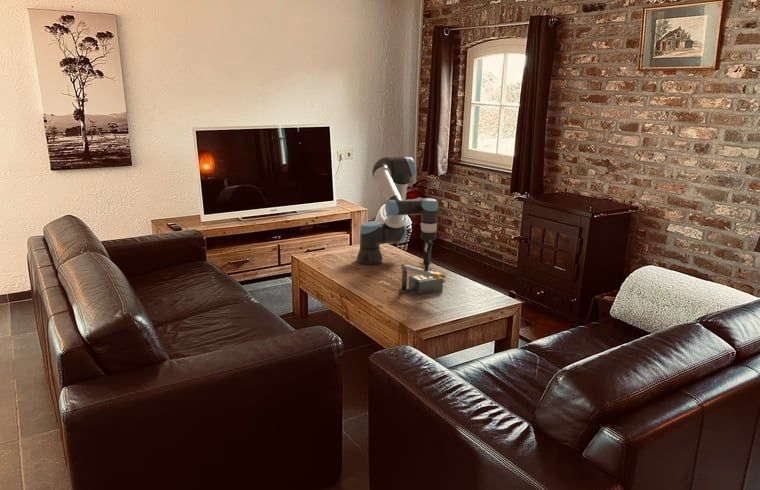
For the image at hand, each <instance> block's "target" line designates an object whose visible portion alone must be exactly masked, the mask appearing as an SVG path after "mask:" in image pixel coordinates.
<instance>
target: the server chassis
mask: <svg viewBox="0 0 760 490" xmlns="http://www.w3.org/2000/svg"><path fill="white" fill-rule="evenodd" d="M443 279H444V278H443V276H441V278H440V279H435V278H433V277H430V276H429V278H426V277H423V274H414V275H409V277H408V289H409V291H410V292H413V293H414V294H416V295H418V296H422V295H429V294H436V293H440V292H441V293H442V292H443V289H444V287H443V286H444V281H443Z"/></svg>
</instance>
